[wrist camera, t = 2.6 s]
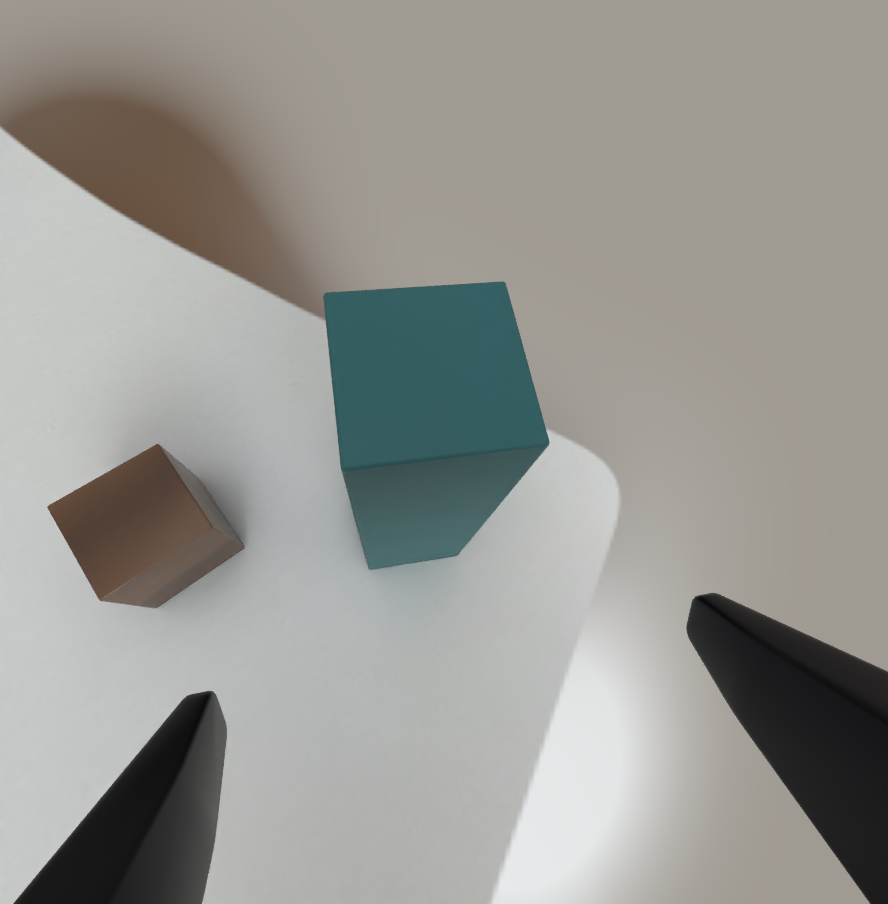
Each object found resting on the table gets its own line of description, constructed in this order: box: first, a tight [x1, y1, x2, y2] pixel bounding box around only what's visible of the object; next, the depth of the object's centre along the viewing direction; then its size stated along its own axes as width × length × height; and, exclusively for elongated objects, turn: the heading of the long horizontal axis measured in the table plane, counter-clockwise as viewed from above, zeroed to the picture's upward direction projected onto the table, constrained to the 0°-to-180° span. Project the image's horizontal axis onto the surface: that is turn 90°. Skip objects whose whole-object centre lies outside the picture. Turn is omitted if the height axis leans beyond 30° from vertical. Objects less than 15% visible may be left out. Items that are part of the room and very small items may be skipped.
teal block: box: [323, 282, 549, 570], centre depth 15 cm, size 4×4×13 cm
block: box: [47, 444, 244, 608], centre depth 18 cm, size 4×4×4 cm
